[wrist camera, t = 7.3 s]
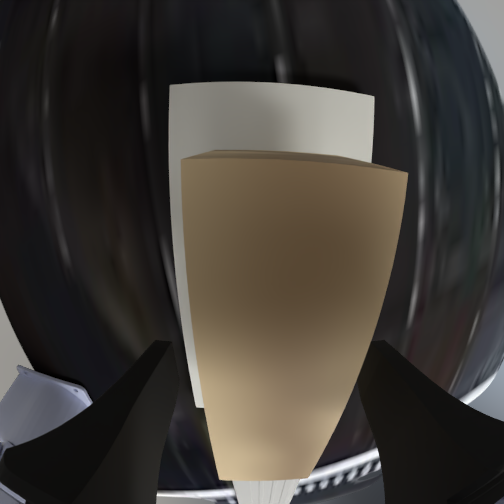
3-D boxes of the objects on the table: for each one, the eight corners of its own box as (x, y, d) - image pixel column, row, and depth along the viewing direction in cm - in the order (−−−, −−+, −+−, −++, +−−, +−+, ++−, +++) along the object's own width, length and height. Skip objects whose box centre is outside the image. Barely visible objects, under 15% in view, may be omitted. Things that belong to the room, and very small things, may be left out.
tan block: (224, 407, 15) (219, 479, 10) (215, 150, 9) (180, 159, 5) (298, 407, 15) (307, 477, 10) (337, 155, 9) (408, 173, 5)
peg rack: (197, 397, 19) (192, 428, 16) (175, 88, 11) (155, 76, 8) (316, 397, 19) (323, 428, 16) (366, 99, 11) (394, 91, 8)
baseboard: (324, 441, 23) (226, 445, 23) (328, 463, 20) (224, 468, 20) (294, 504, 35) (241, 506, 35) (295, 516, 32) (240, 518, 32)
